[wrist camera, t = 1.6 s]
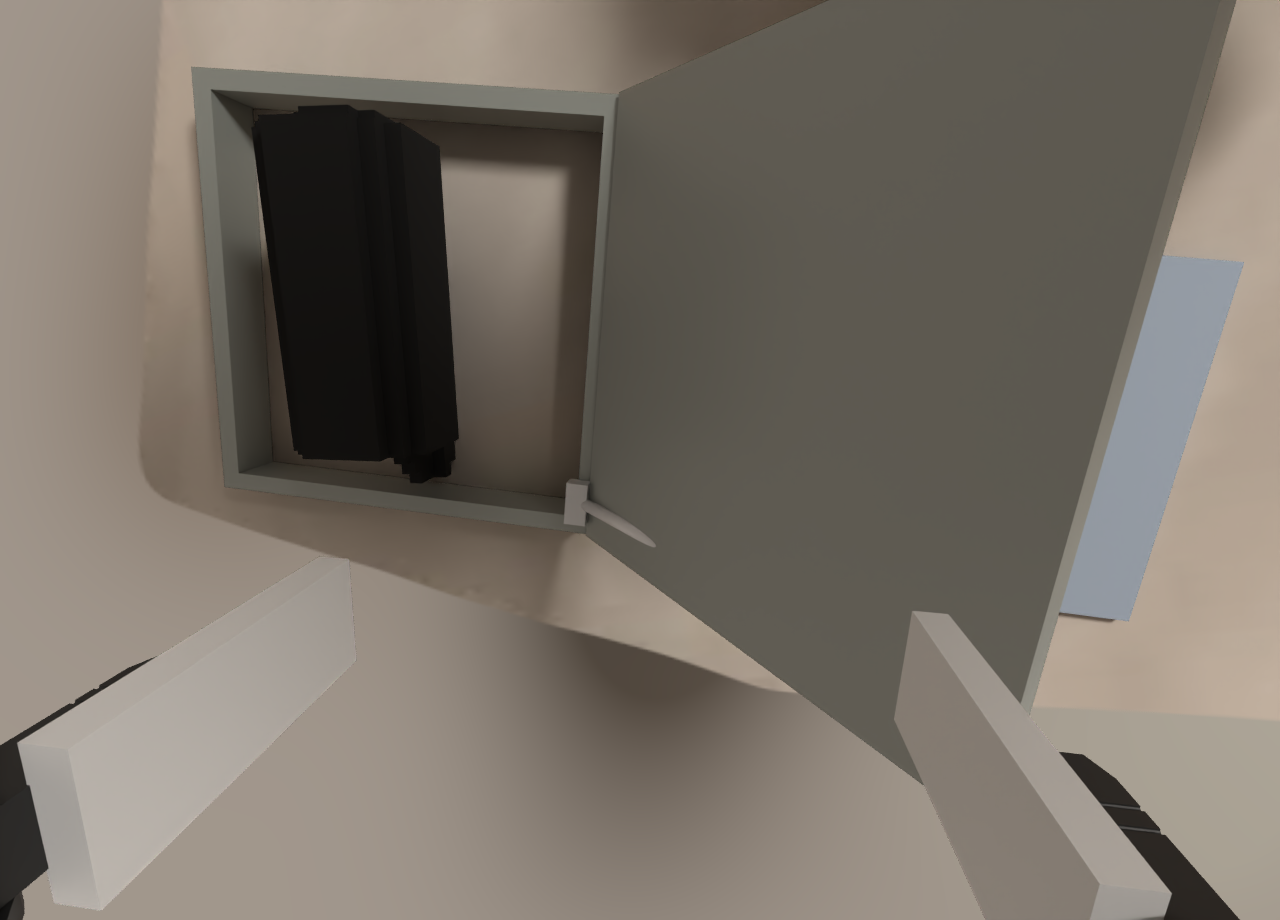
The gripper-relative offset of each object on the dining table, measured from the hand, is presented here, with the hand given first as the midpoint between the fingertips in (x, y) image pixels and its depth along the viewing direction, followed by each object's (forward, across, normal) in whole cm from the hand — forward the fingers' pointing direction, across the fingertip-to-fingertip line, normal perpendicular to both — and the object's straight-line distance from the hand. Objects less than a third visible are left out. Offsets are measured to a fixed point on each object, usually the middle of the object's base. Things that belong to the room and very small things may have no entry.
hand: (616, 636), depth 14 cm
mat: (+23, +22, +1) cm, 32 cm away
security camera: (+23, -15, +6) cm, 29 cm away
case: (+23, -8, +6) cm, 25 cm away
